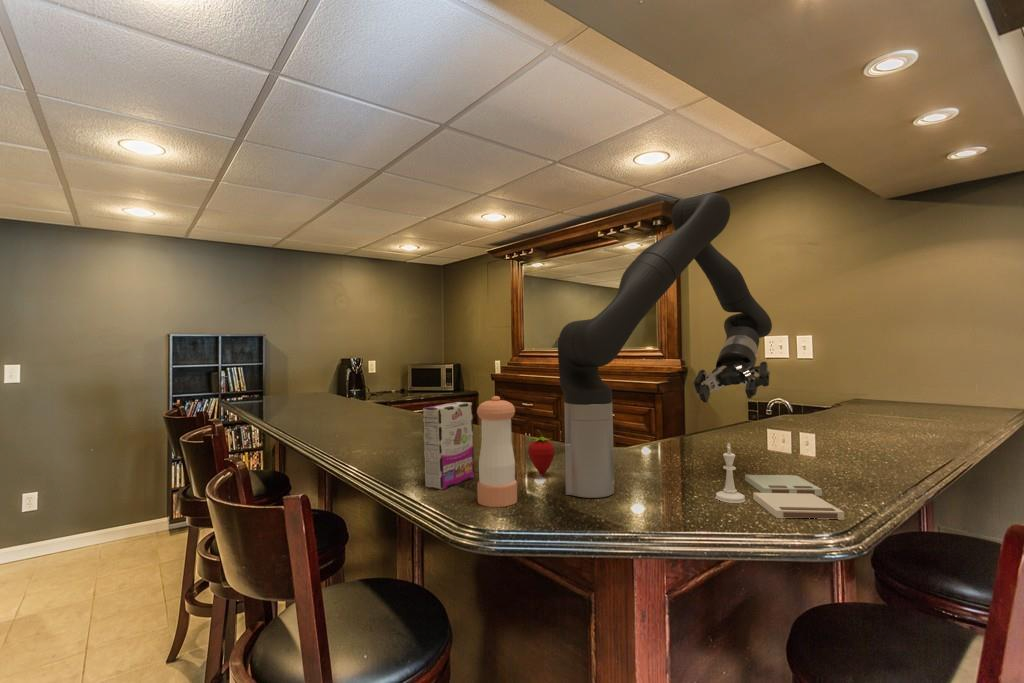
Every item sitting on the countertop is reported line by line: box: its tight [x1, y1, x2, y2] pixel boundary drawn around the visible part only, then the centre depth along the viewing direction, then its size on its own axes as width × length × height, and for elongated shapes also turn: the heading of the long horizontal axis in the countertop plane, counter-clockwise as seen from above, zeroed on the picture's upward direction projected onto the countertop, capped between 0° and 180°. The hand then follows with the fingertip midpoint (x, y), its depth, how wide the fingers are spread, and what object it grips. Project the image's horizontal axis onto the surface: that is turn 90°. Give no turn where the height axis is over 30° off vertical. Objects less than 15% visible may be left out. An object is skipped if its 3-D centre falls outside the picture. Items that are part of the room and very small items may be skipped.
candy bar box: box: [422, 401, 475, 490], centre depth 103 cm, size 11×5×16 cm, turn 148°
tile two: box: [744, 474, 823, 497], centre depth 94 cm, size 10×10×1 cm
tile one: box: [752, 492, 845, 521], centre depth 82 cm, size 10×10×1 cm
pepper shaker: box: [476, 395, 518, 508], centre depth 89 cm, size 7×7×19 cm
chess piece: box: [715, 443, 746, 504], centre depth 88 cm, size 5×5×10 cm
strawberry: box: [527, 429, 556, 476], centre depth 107 cm, size 6×8×10 cm
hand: (725, 396), depth 96 cm, fingers open, 8 cm apart
